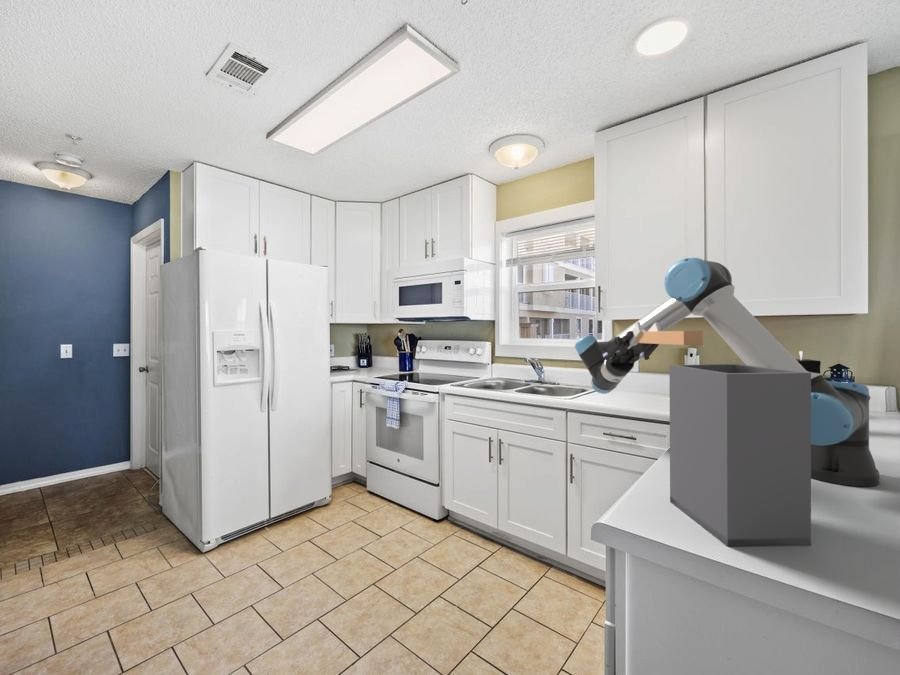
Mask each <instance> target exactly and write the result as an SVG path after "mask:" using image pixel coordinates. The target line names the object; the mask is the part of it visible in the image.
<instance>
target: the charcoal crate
mask: <svg viewBox="0 0 900 675" xmlns="http://www.w3.org/2000/svg"><path fill="white" fill-rule="evenodd" d="M668 368H669V373H668V374H669V503H671V504H672V505H674V506H675V507H676V508H678V509H679V510H680V511H682V512H683V513H684V514H685V515H686V516H688V517H689V518H690V519H692V520H693V521H694V522H695V523H697V524H698V525H699V526H701V528H703V529H704V530H706V531H707V532H708V533H710V534H711V535H712V536H714V538H716V539H717V540H719V542H721V543H722V544H724V545H725V546H726V547H771V546H772V547H780V546H781V547H783V546H785V547H789V546H790V547H791V546H793V547H794V546H796V547H797V546H811V545H812V478H811V373H807V372H799V371H790V370H782V369H773V368H765V367H756V366H748V365H746V364H740V363H738V364H737V363H729V364H728V363H725V364H723V363H722V364H720V363H719V364H712V363H711V364H710V363H709V364H669V366H668Z"/></svg>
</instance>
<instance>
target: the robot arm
mask: <svg viewBox="0 0 900 675" xmlns="http://www.w3.org/2000/svg"><path fill="white" fill-rule="evenodd" d="M732 279H733V278H732V274H731V272H730V271H729V269H728V268H727V267H726V266H725V265H723V264H721V263H719V262H716V261H710V260H706V259H705V260H704V259H703V258H699V257H686V258H682V259H679V260H678V261H675V262H674V263H673V264H672V265H671V266H670V267H669V269H668V270H667V271H666V274H665V277H664V284H663V285H664V289H665V291H666V293H667V295H668V296H669V298H668V299H667V300H665V301H664V302H662V303H661V304H660V305H658V306H657V307H655V308H653V309H652V310H650V311H649V312H648V313H646V314H645V315H643V316H642V317H641V318H640V319H639V320H637V321H636V322H634V323H633V324H631V325H630V326H628V327H627V328H625V329H624V330H623V331H621V332H619V333H618V334H617V335H615V336H614V337H613V338H611V339H609V340H608V341H598V339H597V338H596V337H595V336H594V335H593V334H587V335H585V336H582V337H581V338H579V339H578V340H577V341H576V342H575V345H574V348H575V350H576V352H577V354H578V356H579V358H580V359H581V361H582V362H583V364H584V365H585V367H586V369H587V370H588V372H589V374H590V376H591V387H592V389H593V390H594V391H595V392H597V393H599V394H604V395H605V394H609V393H611V392H612V391H614V389H616V388H617V386H618V385H619V384H620V383H621V381H622V380H623V379H624V378H625V377H626V376H627V375H628V374H629V373H630V371H632V369H633V368H634V366H635V362H638V361H639V360H640V359H644V360H646V361H648V360H650V356H651V355H652V354H653V352H654V351H655V350H656V349H657V348H658V346H659V345H660V344H650V343H634V341H635V340H636V339H637V338H638V336H639V335H640V334H641V333H642V332H644V331H666V330H668V329H670V328H671V327H672V326H675V325H676V324H677V323H680V322H681V321H682V320H684V319H685V318H687V317H688V316H690V315H691V314H692V315H693V316H698V317H703V318H704V319H705V321H706V322H708V324H709V325H710V326H711V327H712V328H713V330H714V331H715V332H716V333H717V334H718V335H719V336H720V337H721V339H723V341H724V342H725V343H726V344H727V346H728V347H730V349H731V350H732V351H733V352H734V353H735V355H737V356H738V358H739V359H740V360H741V361H742V362H743V364H744V365H748V366H756V367H765V368H773V369H782V370H790V371H799V372H807V373H811V479H815V480H818V481H823V482H828V483H833V484H837V485H845V486H855V487H875V486H878V485H879V484H880V483H881V482H880V481H881V480H880V479H881V478H880V477H881V475H880V472H879V470H878V469H877V467H876V463H875V460H874V458H873V454H872V453H871V451H870V400H871V396H870V390H869V387H868V386H867V385H865V384H861V383H856V382H855V383H853V382H843V381H833V380H832V381H831V380H830V381H829V380H827V379H826V378H825V377H824V376H823V375H822V374H821V373H820V374H819V373H812V372H808V371H806V370H805V369H804V368H803V367H802V366H801V365H800V364H799V362H798V361H797V360H796V359H797V358H795V357H794V356H793V355H792V354H791V353H790V352H789V350H787V349H786V348H785V347H784V346H783V345H782V344H781V343H780V342H779V341H778V339H777V338H775V336H774V335H772V334H771V332H769V331H768V329H767V328H766V327H765V326H763V324H762V323H761V322H760V321H759V320H758V319H757V318H756V317H755V315H753V314H752V313H751V312H750V311H749V310H748V309H747V308H746V306H744V305H743V304H742V303H741V302H740V301H739V299H737V297H735V295H734V294H735V285H733V283H732V282H733V280H732Z"/></svg>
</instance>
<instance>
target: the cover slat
mask: <svg viewBox="0 0 900 675" xmlns="http://www.w3.org/2000/svg"><path fill="white" fill-rule="evenodd" d="M703 336H704V335H703V330H668V331H666V330H665V331H644V332H642V333H641V334H640V335H639V336H638V338H637V339H636V340H635V341H634V343H650V344H659V345H675V346H677V345H678V346H703Z"/></svg>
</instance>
